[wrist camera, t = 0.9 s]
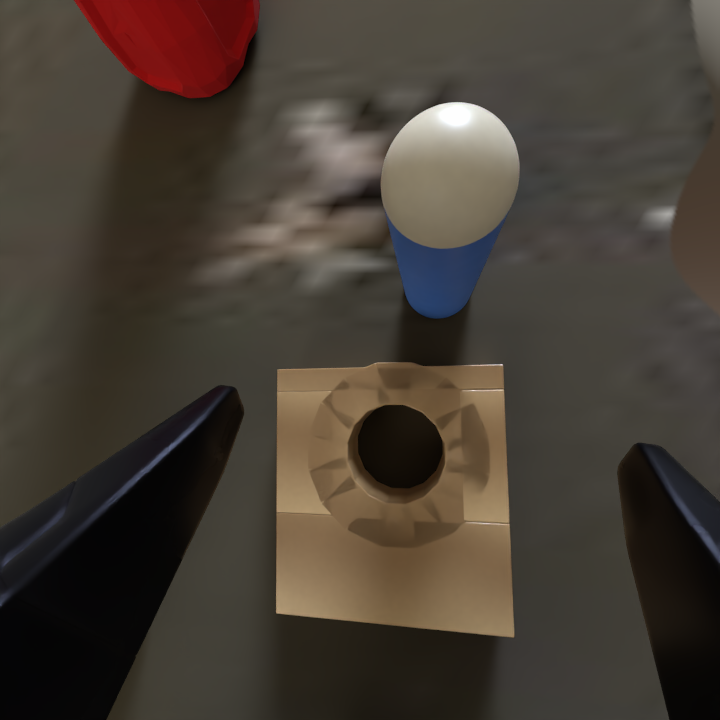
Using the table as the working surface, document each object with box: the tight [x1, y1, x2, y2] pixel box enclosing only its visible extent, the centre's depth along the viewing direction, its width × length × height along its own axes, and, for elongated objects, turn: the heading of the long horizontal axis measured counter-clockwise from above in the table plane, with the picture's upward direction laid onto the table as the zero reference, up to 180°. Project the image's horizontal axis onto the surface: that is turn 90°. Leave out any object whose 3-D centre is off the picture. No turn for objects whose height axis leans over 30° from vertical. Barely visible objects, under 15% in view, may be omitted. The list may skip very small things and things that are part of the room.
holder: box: [276, 362, 514, 638], centre depth 21 cm, size 13×12×3 cm
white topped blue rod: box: [381, 102, 520, 319], centre depth 16 cm, size 4×4×14 cm
